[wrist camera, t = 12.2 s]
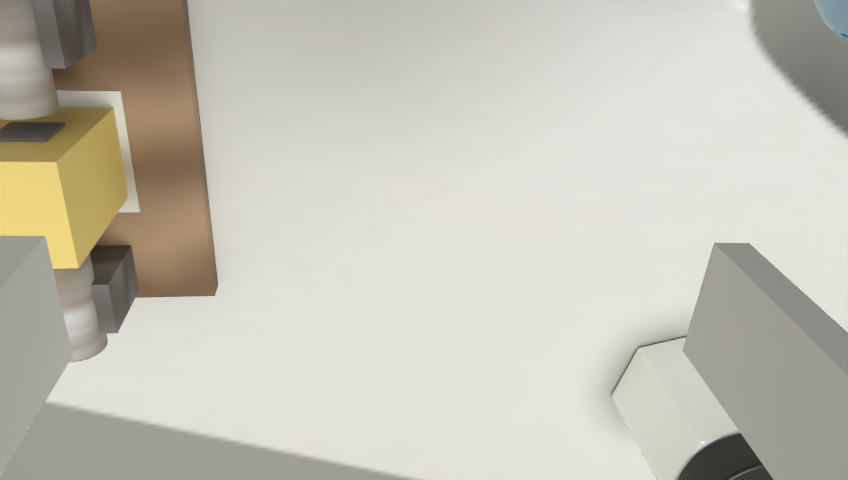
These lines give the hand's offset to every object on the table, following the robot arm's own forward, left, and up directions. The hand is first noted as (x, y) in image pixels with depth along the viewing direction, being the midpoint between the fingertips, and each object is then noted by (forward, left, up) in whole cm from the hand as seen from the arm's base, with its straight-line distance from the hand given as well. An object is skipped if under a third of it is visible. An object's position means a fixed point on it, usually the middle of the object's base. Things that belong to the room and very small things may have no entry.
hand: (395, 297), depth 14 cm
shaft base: (+6, -15, -25) cm, 30 cm away
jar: (+24, +23, -25) cm, 42 cm away
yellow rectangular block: (+5, -15, -24) cm, 29 cm away
